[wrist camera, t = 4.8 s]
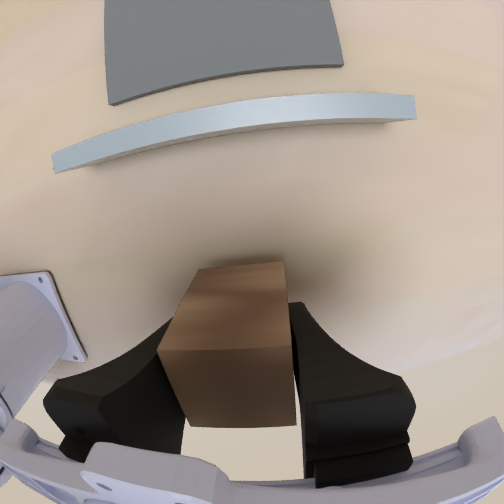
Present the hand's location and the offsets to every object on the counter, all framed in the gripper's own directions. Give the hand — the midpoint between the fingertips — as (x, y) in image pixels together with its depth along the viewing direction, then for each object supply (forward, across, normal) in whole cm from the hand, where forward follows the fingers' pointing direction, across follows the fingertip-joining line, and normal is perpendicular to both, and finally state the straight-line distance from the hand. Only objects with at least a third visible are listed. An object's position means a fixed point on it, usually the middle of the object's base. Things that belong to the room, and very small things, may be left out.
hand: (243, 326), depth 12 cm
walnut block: (+2, 0, 0) cm, 2 cm away
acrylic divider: (+4, 0, -8) cm, 9 cm away
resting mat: (+4, 0, -17) cm, 18 cm away
